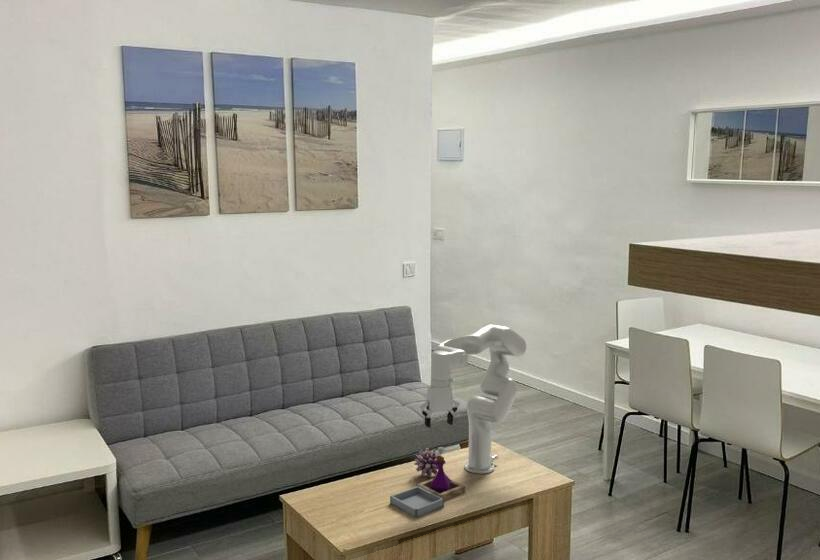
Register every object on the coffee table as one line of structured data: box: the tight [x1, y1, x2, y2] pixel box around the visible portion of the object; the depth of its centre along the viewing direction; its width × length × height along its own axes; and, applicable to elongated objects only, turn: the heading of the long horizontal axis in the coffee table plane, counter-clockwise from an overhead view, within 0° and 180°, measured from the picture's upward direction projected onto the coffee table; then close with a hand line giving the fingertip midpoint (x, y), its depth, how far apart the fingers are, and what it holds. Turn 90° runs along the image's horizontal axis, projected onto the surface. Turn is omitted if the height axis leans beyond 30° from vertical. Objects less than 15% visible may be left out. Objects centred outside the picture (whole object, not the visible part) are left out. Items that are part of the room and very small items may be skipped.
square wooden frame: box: [415, 478, 466, 501], centre depth 292 cm, size 14×14×2 cm
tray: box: [389, 485, 445, 518], centre depth 281 cm, size 14×15×3 cm
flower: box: [413, 447, 440, 478], centre depth 306 cm, size 12×12×12 cm
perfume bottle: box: [430, 446, 452, 493], centre depth 291 cm, size 8×8×18 cm
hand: (438, 425), depth 290 cm, fingers open, 9 cm apart
